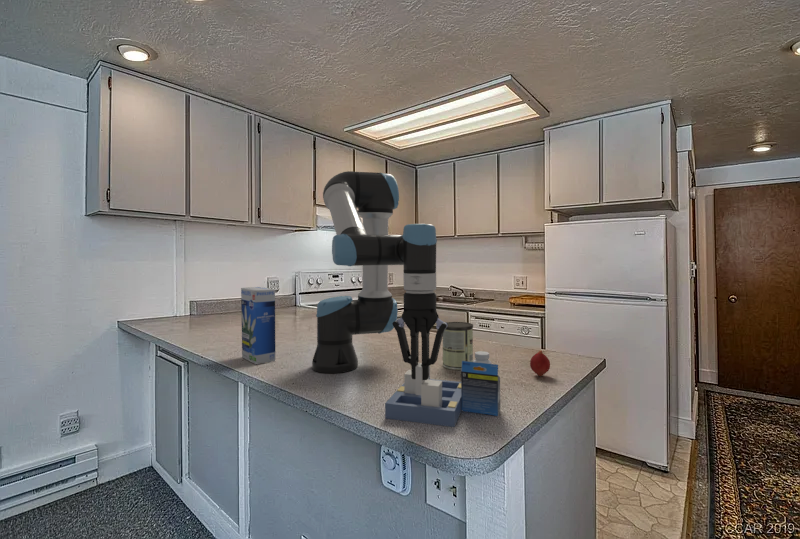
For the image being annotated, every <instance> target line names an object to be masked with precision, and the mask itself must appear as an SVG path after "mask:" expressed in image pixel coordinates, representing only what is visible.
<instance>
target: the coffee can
mask: <svg viewBox="0 0 800 539" xmlns="http://www.w3.org/2000/svg"><path fill="white" fill-rule="evenodd" d="M447 323H448V326H447V328H446V329H445V331H444V333H443V337H442V367H444V368H445V369H448V370H453V371H461V368H462V361H469V362H473V360H474V350H473V349H474V342H473V340H474V337H473V336H474V329H473V328H474V324H473V323H471V322H466V321H447Z"/></svg>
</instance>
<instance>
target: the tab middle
mask: <svg viewBox="0 0 800 539" xmlns="http://www.w3.org/2000/svg"><path fill="white" fill-rule="evenodd" d="M411 373H412V372H411V369H408V370H406V372H405V373H404V375H403V376H404V377H403V378H404V379H403V380H404V381H403V384H404V393H410V394H416V379H412V377H411V375H412V374H411Z"/></svg>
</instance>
